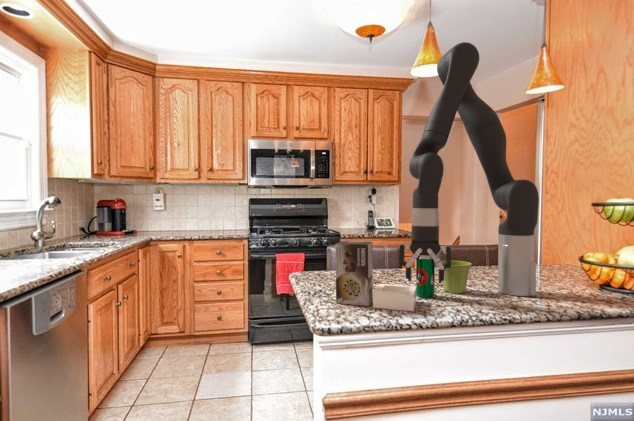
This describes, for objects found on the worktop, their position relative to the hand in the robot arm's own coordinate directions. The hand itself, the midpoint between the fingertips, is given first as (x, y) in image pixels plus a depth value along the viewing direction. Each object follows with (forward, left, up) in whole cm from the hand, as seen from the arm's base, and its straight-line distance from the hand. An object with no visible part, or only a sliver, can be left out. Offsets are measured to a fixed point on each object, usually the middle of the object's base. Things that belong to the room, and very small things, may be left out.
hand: (424, 281), depth 103 cm
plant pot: (-8, -9, -5) cm, 13 cm away
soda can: (0, 0, -4) cm, 4 cm away
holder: (+7, +11, -4) cm, 14 cm away
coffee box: (+17, +12, -5) cm, 22 cm away
